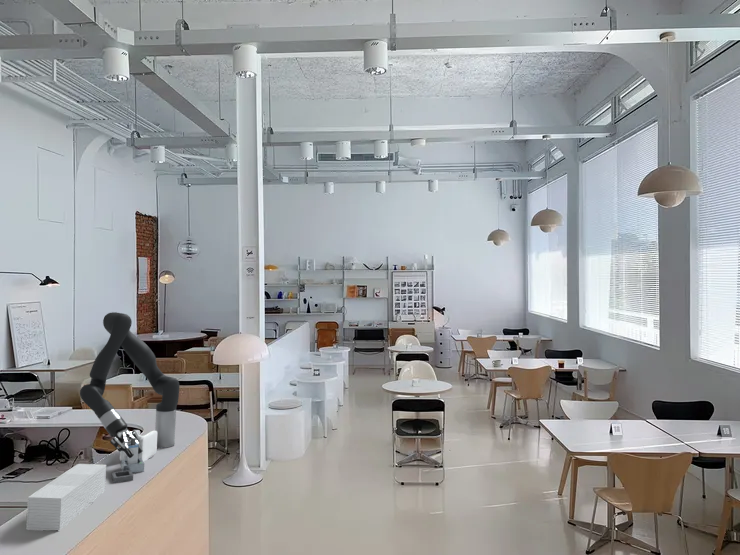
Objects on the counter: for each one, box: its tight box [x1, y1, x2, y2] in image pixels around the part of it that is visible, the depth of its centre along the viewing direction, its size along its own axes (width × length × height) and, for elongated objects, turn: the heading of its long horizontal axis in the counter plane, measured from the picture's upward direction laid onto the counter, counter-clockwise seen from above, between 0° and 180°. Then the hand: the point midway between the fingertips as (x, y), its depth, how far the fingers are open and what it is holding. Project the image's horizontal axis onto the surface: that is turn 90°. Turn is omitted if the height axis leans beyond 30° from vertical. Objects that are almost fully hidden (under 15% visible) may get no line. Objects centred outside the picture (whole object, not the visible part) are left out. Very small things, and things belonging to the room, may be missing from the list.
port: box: [120, 458, 145, 474], centre depth 233 cm, size 8×8×4 cm
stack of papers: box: [25, 463, 107, 531], centre depth 194 cm, size 32×11×11 cm, turn 1°
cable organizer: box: [119, 429, 158, 463], centre depth 248 cm, size 15×11×12 cm
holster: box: [111, 470, 134, 484], centre depth 223 cm, size 7×7×2 cm
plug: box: [127, 438, 139, 464], centre depth 233 cm, size 4×4×10 cm
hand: (136, 454), depth 232 cm, fingers closed on plug, 5 cm apart
